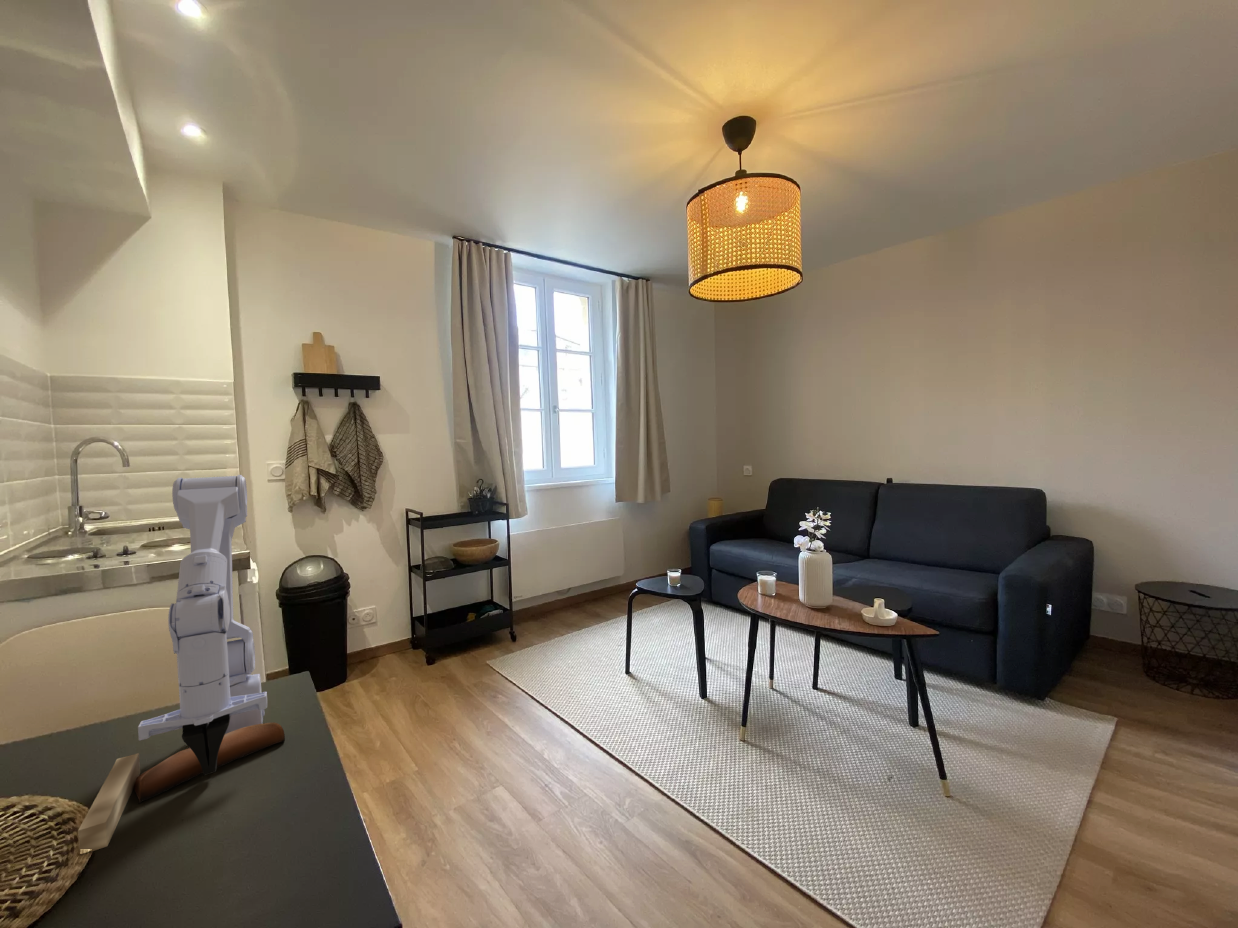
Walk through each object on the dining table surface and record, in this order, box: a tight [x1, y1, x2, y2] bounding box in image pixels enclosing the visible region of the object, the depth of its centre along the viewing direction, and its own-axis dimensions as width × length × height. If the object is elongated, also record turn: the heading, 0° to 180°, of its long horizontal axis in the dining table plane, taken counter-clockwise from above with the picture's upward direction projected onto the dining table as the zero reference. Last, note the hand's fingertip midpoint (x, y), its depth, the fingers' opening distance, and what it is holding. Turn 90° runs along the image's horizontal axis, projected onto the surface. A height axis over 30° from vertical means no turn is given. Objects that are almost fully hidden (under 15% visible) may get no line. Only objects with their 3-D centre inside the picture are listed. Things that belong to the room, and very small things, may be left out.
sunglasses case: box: [133, 722, 286, 804], centre depth 80 cm, size 18×7×7 cm, turn 143°
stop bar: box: [77, 752, 141, 852], centre depth 70 cm, size 2×18×3 cm, turn 33°
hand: (210, 770), depth 76 cm, fingers closed
